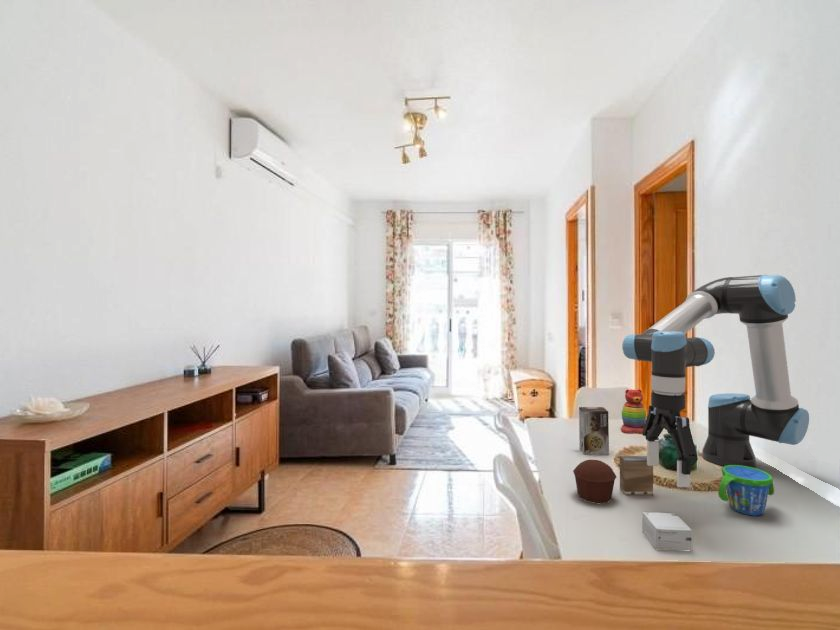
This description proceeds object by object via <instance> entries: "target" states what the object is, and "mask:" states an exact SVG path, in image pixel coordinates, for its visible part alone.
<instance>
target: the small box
mask: <svg viewBox="0 0 840 630" xmlns="http://www.w3.org/2000/svg"><path fill="white" fill-rule="evenodd" d="M641 514H642V516H641V517H642V519H641V520H642V521H641V523H642V524H641V531H642V534H643V535H644V536H645V538H646V539H647V541H648V542H650V545H652V547H653V549H654V550H656V549H659V550H660V549H661V550H665V551H677V550H690V551H689V552H692V546H693V545H692V543H693V542H692V540H693V539H692V538H693V537H692V534H693V533H692V531H693V530H692V528H690V526H689V525H687V524H686V523H685V522H684V520H683V519H682V518H680V517H679V515H678V514H676V513H669V512H667V513H665V512H646V511H645V512H644V511H643V512H641Z"/></svg>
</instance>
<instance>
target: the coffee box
mask: <svg viewBox="0 0 840 630" xmlns="http://www.w3.org/2000/svg"><path fill="white" fill-rule="evenodd" d="M578 422H579V424H578V426H579V427H578V429H579V430H578V431H579V436H578V437H579V440H578V441H579V444H578V445H579V450H580V451H581V453H582V452H583V453H582V454H583V455H610V435H609V433H610V431H609V411H608V410H607V409H606V408H605V407H603V406H579V407H578Z"/></svg>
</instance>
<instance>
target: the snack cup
mask: <svg viewBox="0 0 840 630" xmlns="http://www.w3.org/2000/svg"><path fill="white" fill-rule="evenodd" d="M721 473H722V476H723V477H721V481H720V483H719V488H718V491H717V495H718V497H719V500H722V501H724V502H728V504H729V506H730V507H731V509H732V510H734V511H735V512H738V513H741V514H744V515H749V516H754V517H755V516H761V515H764V513H765V511H766V507H767V501H768V497H769V496H773V495H774V493H775V486H774V480H773V477H772V475H771V474H769V473H768V472H766V471H765V470H762V469H760V468H757V467H756V468H755V467H748V466H741V465H727V466H723V467H722V468H721Z"/></svg>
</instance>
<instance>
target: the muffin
mask: <svg viewBox="0 0 840 630" xmlns="http://www.w3.org/2000/svg"><path fill="white" fill-rule="evenodd" d="M572 472H573V475H574V478H575V485H576V491H577V495H578V496H579V499H581V498H582V500H584V501H585V500H586V502H588V503H592V502H594V503H593V504H597V503H600V504H608V503H609V502H608V501H611V500H612V497H613V492H614V491H613V490H614V486H615V481H616V479H617V475H616V473H615V472H614V470H613V469H612V467H611V466H610V465H609V464H607V463H606V462H603V461H602V460H599V459H585V460H583V461H581V462H579V464H578V465H576V466H575V468H574V470H573V471H572Z"/></svg>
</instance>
